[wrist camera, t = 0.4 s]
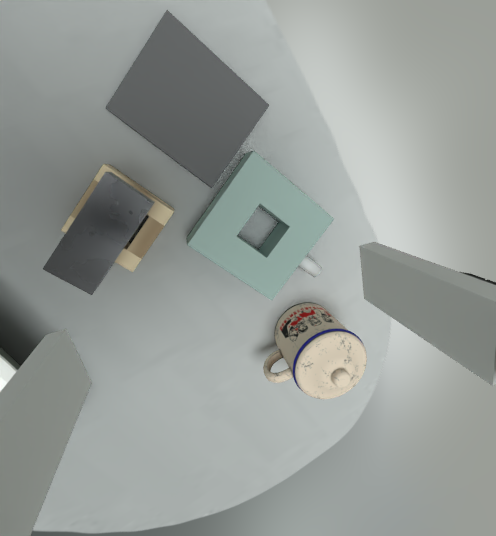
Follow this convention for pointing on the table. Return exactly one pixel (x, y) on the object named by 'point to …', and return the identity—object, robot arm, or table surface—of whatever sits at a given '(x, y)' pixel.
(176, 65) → the mat
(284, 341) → the teacup with lid
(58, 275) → the block
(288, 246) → the block
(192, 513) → the table surface
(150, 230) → the beige square frame
